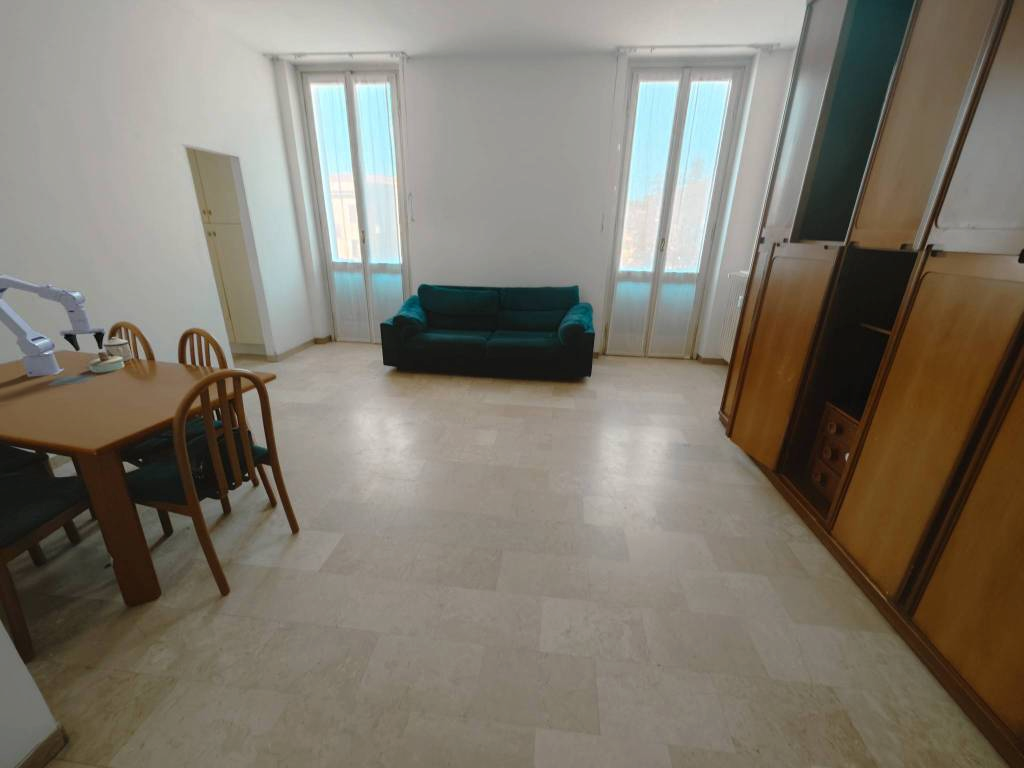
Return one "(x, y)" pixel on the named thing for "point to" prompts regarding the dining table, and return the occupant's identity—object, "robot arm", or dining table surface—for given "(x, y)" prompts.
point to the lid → (104, 360)
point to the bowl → (107, 367)
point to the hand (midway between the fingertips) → (89, 349)
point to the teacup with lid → (118, 348)
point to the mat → (71, 379)
